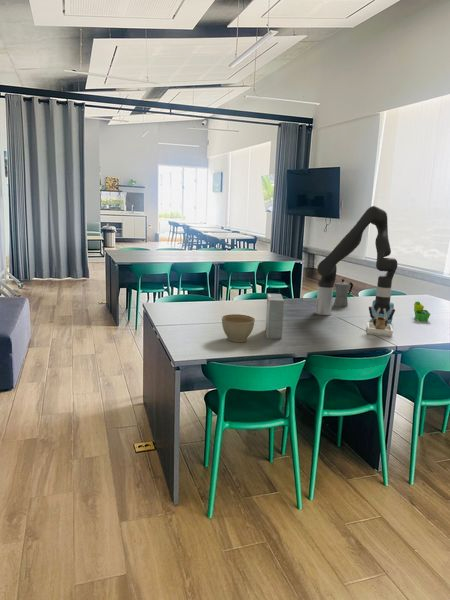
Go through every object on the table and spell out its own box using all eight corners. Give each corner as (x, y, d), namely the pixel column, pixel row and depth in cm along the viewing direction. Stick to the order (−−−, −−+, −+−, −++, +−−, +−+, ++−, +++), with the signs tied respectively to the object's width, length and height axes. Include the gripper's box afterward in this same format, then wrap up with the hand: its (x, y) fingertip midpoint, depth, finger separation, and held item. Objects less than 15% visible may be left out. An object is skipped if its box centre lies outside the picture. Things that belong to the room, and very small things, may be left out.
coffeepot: (337, 307, 302) (339, 280, 298) (328, 304, 310) (330, 278, 307) (355, 306, 309) (358, 279, 305) (346, 303, 317) (348, 277, 313)
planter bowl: (229, 346, 215) (230, 323, 212) (216, 336, 229) (216, 315, 227) (259, 342, 221) (260, 321, 219) (244, 333, 235) (245, 313, 233)
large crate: (367, 333, 243) (367, 328, 242) (366, 327, 256) (367, 322, 255) (392, 336, 240) (392, 331, 239) (390, 329, 252) (391, 324, 252)
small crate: (375, 328, 244) (376, 319, 243) (375, 325, 252) (376, 316, 250) (384, 329, 243) (385, 320, 242) (383, 326, 250) (384, 317, 249)
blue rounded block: (392, 323, 267) (394, 303, 265) (387, 324, 265) (389, 303, 262) (375, 318, 277) (377, 299, 275) (370, 319, 275) (372, 299, 272)
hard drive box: (265, 329, 244) (267, 293, 240) (279, 330, 244) (281, 293, 239) (266, 338, 229) (269, 299, 224) (282, 339, 228) (284, 300, 224)
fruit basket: (429, 322, 272) (432, 304, 269) (414, 321, 274) (416, 302, 271) (425, 317, 283) (428, 300, 280) (410, 316, 284) (412, 299, 282)
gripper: (396, 295, 245) (393, 325, 249) (369, 292, 249) (365, 323, 253) (398, 297, 238) (394, 329, 242) (369, 295, 242) (366, 326, 245)
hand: (379, 326), depth 247 cm, fingers closed on small crate, 4 cm apart
